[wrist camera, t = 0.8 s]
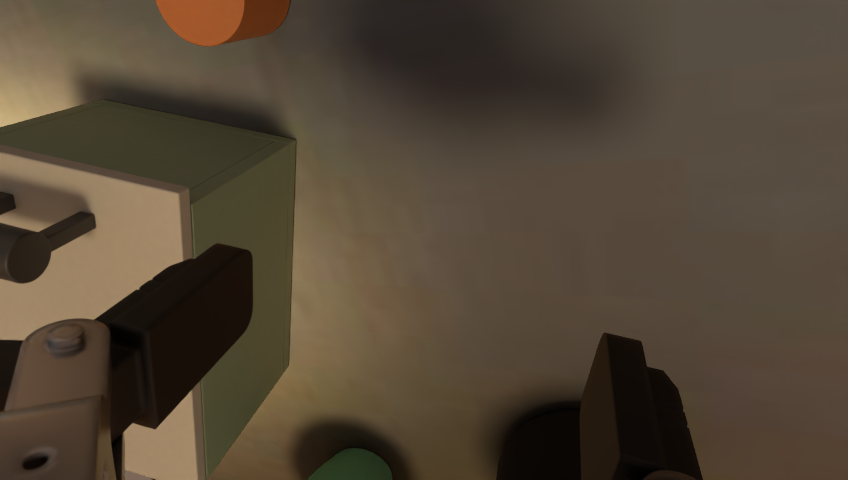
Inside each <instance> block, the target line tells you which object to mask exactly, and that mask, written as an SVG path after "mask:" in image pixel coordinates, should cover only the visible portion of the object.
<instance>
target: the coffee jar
mask: <svg viewBox="0 0 848 480" xmlns="http://www.w3.org/2000/svg"><path fill="white" fill-rule="evenodd" d="M496 480H581V451H580V410H576V409H565V410H560V411H554V412H549V413H545V414H543V415H541V416H539V417H537V418H535V419H533V420H531V421H529V422H528V423H527V424H525V425H523V426H521V428H520V429H519V430H518V431H517V432H516V433H515V434H514V435H513V436H512V437H511V438H510V439H509V440H508V441H507V443H506V444H505V446H504V449H503V452H502V454H501V457H500V460H499V464H498V471H497V478H496Z"/></svg>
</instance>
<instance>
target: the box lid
mask: <svg viewBox="0 0 848 480" xmlns="http://www.w3.org/2000/svg"><path fill="white" fill-rule="evenodd" d="M190 258H192V259H193V248H192V231H191V213H190V196H189V188H188V187H184V186H180V185H176V184H171V183H167V182H162V181H158V180H154V179H149V178H145V177H141V176H136V175H132V174H127V173H123V172H119V171H114V170H110V169H105V168H101V167H97V166H92V165H88V164H83V163H79V162H75V161H70V160H66V159H62V158H57V157H53V156H48V155H44V154H40V153H35V152H31V151H26V150H22V149H18V148H13V147H9V146H4V145H0V340H25V338H26V337H27V336H28V335H29V334H31V333H32V332H34V331H35V330H37V329H39V328H40V327H42V326H45V325H47V324H50V323H53V322H56V321H61V320H66V319H75V318H85V319H92V320H94V319H96V318H97V317H98V316H100V315H101V314H103V313H104V312H105V311H107V310H108V309H110V308H111V307H112V306H114V305H115V304H117V303H118V302H119V301H121V300H122V299H124V298H125V297H126V296H128V295H129V294H131V293H132V292H133V291H135V290H139V288H140V286H142V285H143V284H145V283H146V282H147V281H149V280H152V279H153V277H154V276H156V275H157V274H159V273H160V272H161V271H163V270H164V269H166V268H167V267H168V266H171V265H174V264H176V263H179V262H182V261H185V260H187V259H190ZM124 438H125V470H128V471H131V472H134V473H137V474H141V475H144V476H147V477H150V478H153V479H157V480H206V476H205V459H204V441H203V424H202V406H201V389H200V382H199V383H198V384H197V385H196V386H195V387H194V388H193V389H192V390H191V391H190V392H189V394H188V395H187V396H186V397H185V398H184V399H183V400H182V401H181V402H180V403H179V404H178V406H177V407H176V408H175V409H174V410H173V411H172V412H171V413H170V414H169V415H168V416H167V418H166V419H165V420H164V421H163V422H162V423H161V424H160V425H159V426H158V427H157V428H156V429H151V428H148V427H144V426H141V425H137V424H134V423H132V424H131V425H130V426H129V427H128V428H127V429H126V430H125V431H124Z"/></svg>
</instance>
